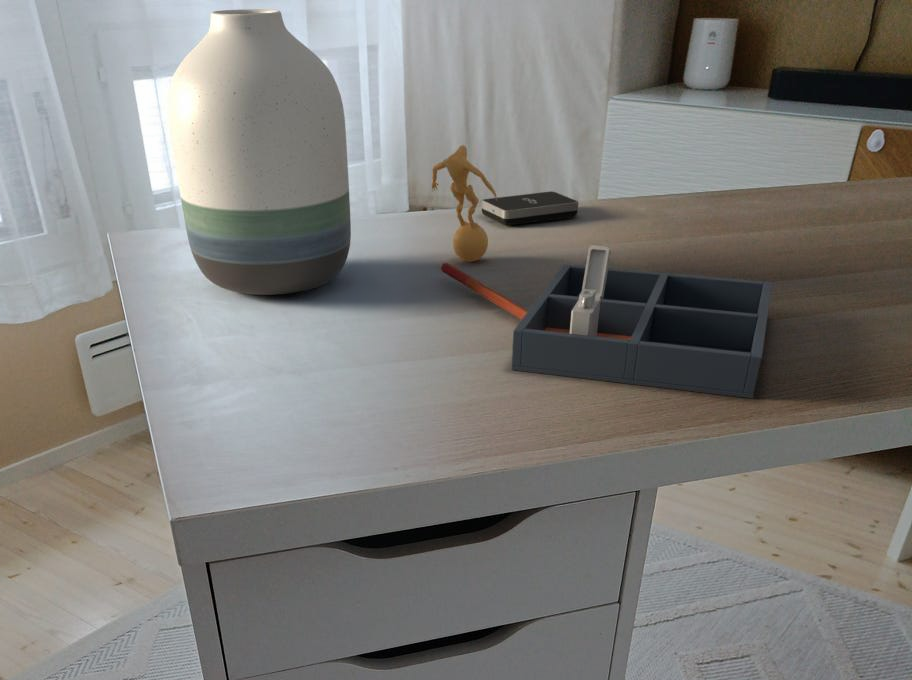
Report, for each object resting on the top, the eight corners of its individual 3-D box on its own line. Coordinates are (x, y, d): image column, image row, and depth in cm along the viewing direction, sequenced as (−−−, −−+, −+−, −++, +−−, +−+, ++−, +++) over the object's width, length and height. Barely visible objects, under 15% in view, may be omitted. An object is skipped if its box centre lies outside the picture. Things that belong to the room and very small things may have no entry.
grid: (764, 318, 88) (772, 282, 86) (752, 398, 73) (762, 357, 71) (561, 298, 93) (563, 263, 91) (511, 370, 78) (513, 330, 76)
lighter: (586, 364, 78) (596, 266, 73) (566, 361, 78) (575, 264, 73) (601, 335, 83) (612, 243, 78) (583, 333, 83) (591, 241, 78)
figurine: (510, 262, 103) (515, 143, 96) (481, 275, 99) (484, 153, 92) (449, 251, 107) (450, 135, 100) (419, 263, 103) (417, 144, 96)
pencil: (438, 265, 97) (446, 260, 97) (442, 273, 98) (449, 268, 98) (540, 326, 84) (549, 320, 84) (543, 335, 85) (552, 329, 85)
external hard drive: (579, 218, 118) (580, 202, 117) (503, 228, 115) (504, 211, 114) (551, 207, 123) (552, 190, 122) (478, 216, 120) (479, 199, 119)
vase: (322, 252, 107) (303, 3, 92) (378, 293, 95) (366, 13, 80) (178, 271, 101) (133, 9, 87) (219, 317, 89) (174, 21, 74)
